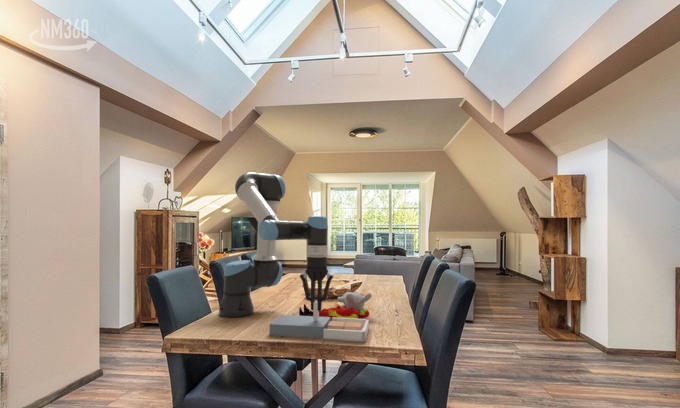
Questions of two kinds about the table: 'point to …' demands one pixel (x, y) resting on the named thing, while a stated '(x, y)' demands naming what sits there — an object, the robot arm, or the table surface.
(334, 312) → the figurine
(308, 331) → the flat grey box
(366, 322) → the box
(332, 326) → the tile
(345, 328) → the tile
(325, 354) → the table surface
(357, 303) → the toy
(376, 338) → the table surface
